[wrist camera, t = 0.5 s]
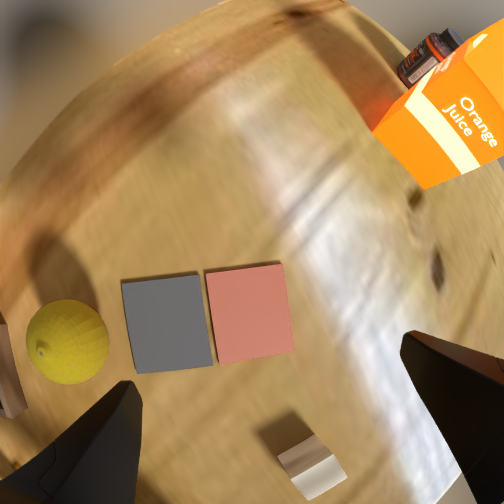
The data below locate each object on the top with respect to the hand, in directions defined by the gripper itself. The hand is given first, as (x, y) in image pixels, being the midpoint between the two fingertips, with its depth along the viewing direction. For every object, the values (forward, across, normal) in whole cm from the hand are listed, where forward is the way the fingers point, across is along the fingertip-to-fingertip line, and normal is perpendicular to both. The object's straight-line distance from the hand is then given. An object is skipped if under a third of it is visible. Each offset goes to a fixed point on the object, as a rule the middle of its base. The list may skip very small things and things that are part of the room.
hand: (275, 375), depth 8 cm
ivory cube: (+7, -3, +19) cm, 21 cm away
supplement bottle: (+26, -27, -17) cm, 41 cm away
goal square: (+13, 0, +5) cm, 14 cm away
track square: (+12, +6, +5) cm, 14 cm away
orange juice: (+21, -21, -7) cm, 31 cm away
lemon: (+11, +13, +4) cm, 18 cm away
